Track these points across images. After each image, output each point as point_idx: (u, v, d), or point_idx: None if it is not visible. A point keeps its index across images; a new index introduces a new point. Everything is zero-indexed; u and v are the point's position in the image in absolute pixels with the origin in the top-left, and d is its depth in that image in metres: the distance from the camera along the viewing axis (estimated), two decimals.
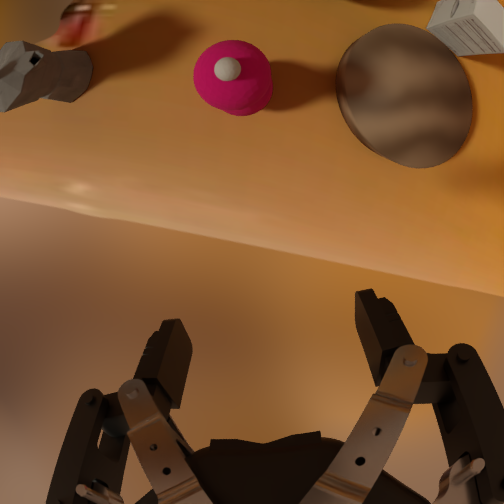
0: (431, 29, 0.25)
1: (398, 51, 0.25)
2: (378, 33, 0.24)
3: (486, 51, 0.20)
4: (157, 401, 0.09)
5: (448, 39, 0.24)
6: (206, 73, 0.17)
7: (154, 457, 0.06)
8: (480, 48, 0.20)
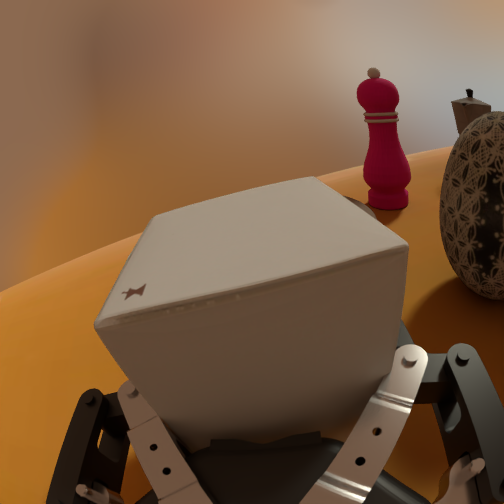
0: None
1: None
2: None
3: None
4: None
5: None
6: None
7: (154, 457, 0.06)
8: None
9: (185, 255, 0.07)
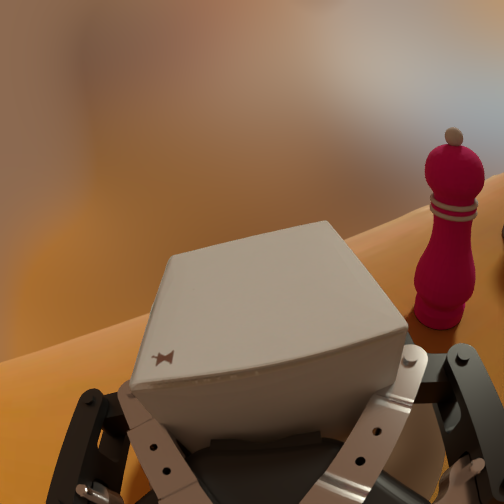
0: None
1: None
2: (434, 446, 0.11)
3: None
4: None
5: None
6: None
7: (154, 457, 0.06)
8: None
9: (207, 321, 0.08)
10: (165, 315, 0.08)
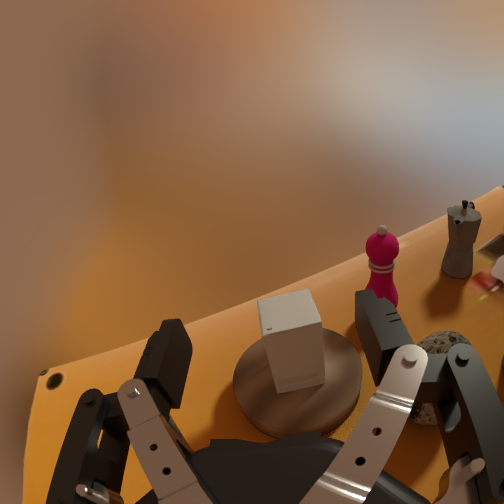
0: None
1: (335, 378, 0.37)
2: (357, 375, 0.37)
3: None
4: (157, 401, 0.09)
5: None
6: (387, 232, 0.45)
7: (154, 457, 0.06)
8: None
9: (277, 320, 0.33)
10: (265, 319, 0.34)
